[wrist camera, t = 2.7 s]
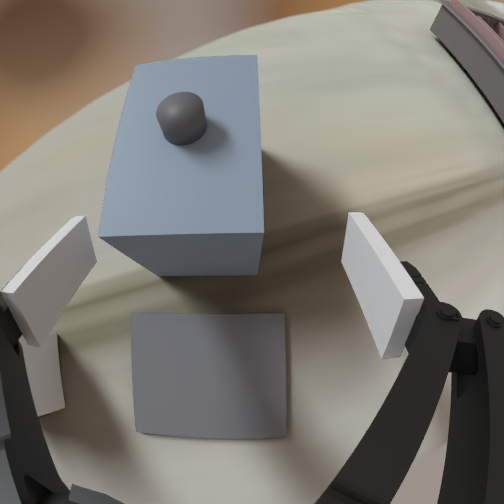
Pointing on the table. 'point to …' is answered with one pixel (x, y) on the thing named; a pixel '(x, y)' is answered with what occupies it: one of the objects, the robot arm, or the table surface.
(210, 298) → the table surface
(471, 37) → the organizer tray
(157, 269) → the cover
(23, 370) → the robot arm
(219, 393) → the mat
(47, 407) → the medicine bottle
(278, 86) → the table surface
